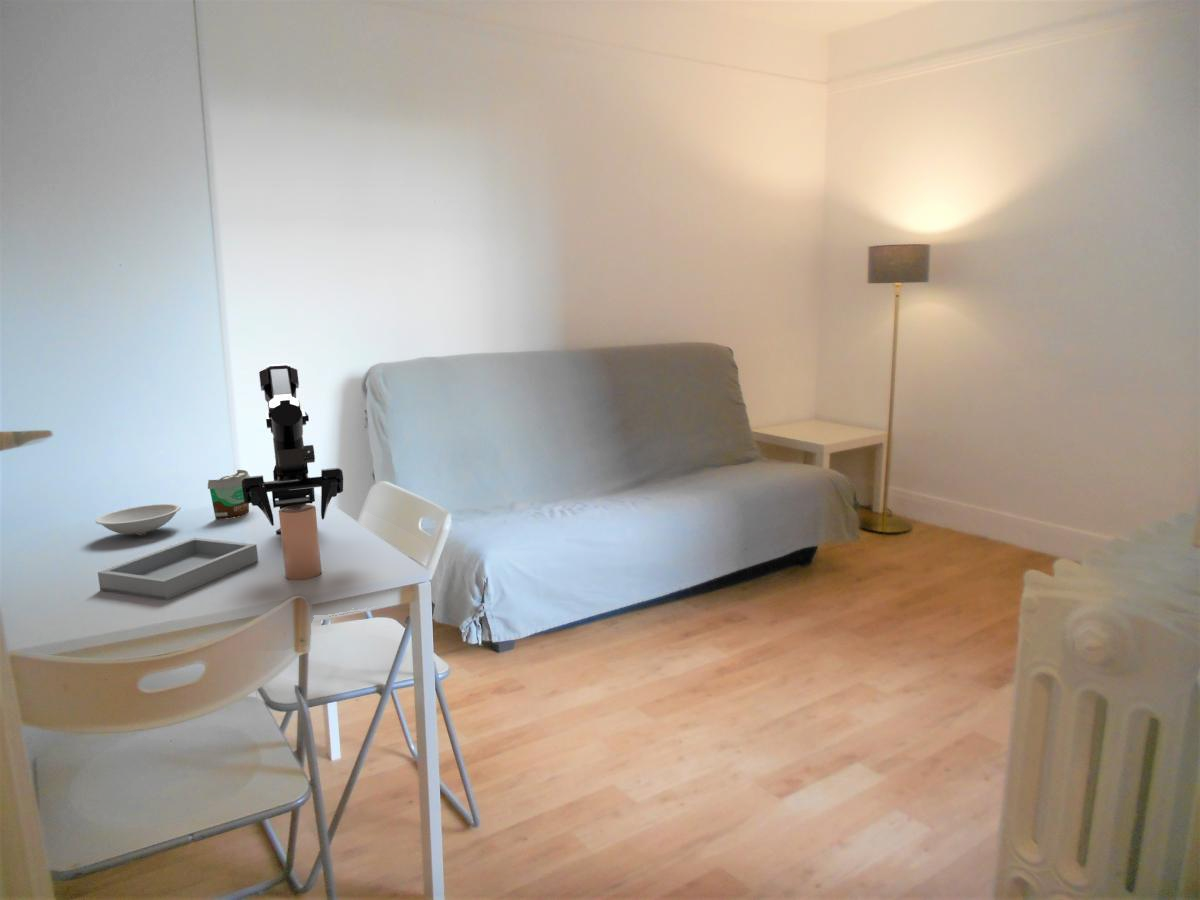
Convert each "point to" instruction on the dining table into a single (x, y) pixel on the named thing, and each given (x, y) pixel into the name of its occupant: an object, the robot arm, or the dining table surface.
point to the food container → (228, 496)
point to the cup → (300, 541)
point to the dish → (138, 518)
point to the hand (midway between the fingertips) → (298, 521)
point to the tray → (177, 568)
